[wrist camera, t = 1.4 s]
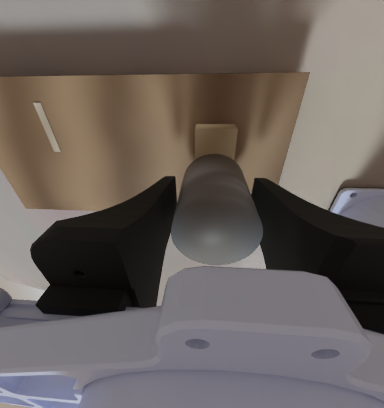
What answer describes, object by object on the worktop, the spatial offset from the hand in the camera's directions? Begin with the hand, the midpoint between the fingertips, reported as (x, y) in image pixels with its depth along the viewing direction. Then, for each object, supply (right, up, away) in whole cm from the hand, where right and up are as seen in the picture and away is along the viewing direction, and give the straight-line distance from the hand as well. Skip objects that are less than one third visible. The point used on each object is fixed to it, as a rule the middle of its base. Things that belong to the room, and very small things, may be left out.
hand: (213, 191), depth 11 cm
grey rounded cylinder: (0, +1, +4) cm, 4 cm away
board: (-6, +4, +4) cm, 8 cm away
